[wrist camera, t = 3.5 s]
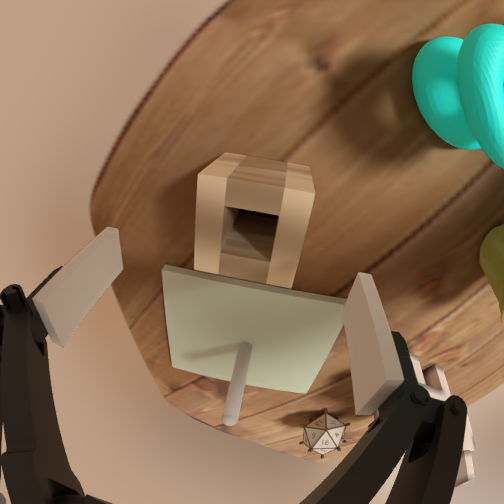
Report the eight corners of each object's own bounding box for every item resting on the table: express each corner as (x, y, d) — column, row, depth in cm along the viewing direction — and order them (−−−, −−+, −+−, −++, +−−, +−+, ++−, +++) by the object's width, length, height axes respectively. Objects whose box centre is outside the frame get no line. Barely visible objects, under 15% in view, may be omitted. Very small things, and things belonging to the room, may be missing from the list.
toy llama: (396, 346, 31) (421, 492, 14) (455, 374, 33) (480, 476, 16) (358, 375, 34) (364, 508, 17) (422, 397, 37) (438, 495, 20)
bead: (225, 152, 22) (197, 173, 16) (309, 166, 22) (315, 193, 16) (217, 226, 26) (194, 269, 20) (293, 240, 25) (291, 288, 19)
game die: (331, 393, 44) (366, 422, 34) (327, 424, 45) (357, 453, 36) (287, 411, 40) (319, 446, 31) (287, 441, 42) (314, 475, 33)
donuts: (571, 165, 7) (494, 198, 11) (502, 135, 16) (427, 157, 19) (542, 26, 3) (447, 20, 7) (472, 36, 12) (388, 47, 15)
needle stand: (165, 264, 29) (111, 345, 19) (350, 299, 28) (366, 396, 18) (174, 362, 38) (148, 427, 28) (306, 388, 37) (302, 459, 27)
